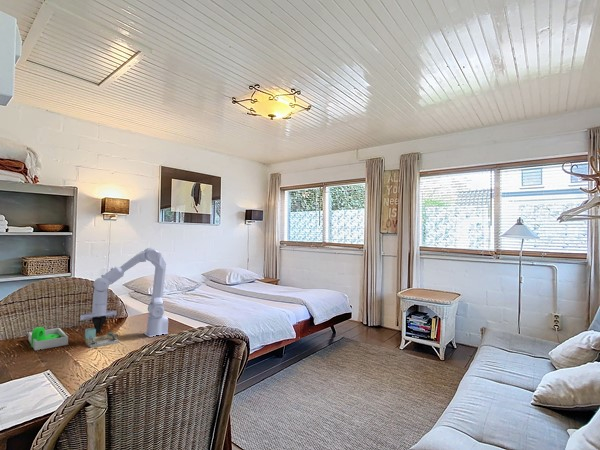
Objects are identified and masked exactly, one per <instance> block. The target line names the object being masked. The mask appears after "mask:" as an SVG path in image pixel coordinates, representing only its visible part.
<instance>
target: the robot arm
mask: <svg viewBox="0 0 600 450" xmlns="http://www.w3.org/2000/svg"><path fill="white" fill-rule="evenodd" d="M147 261H148V262H150V263H151V264H152V265H153V266H154V267H155V268H154V277H153V284H152V292H151V293H152V295H151V298H150V302H149V305H148V306H147V312H148V313H149V314H148V315H147V323H146V331H145V332H143V335H145V336H147V337H148V338H152V337H153V336H154V337H157V336H156V335H159V336H163V335H162V334H164V335H169V332H168V331H169V318H168V316H167V315H164V314H165V307H164V300H163V297H164V296H163V293H164V286H165V278H166V277H165V276H166V267H167V263H166V261H165V259H164V256H163V255H162V253H161V252H160V251H158V249H155V248H152V247H147V248H145V249H144V250H142V251H140V252H139V253H137V254H136V255H133V257H131V258H130V259H128V260H127V261H126V262H125V263H124V264H123V263H122V264H121V266H114V267H110V269H109V271H107V272H106V273H105V274H101V275H100V277H98V278H96V279H95V280H94V281H93V283H92V284H93V288H94V289H93V294H92V295H93V296H92V309H91V312H90V313H86V314H85V313H84V314H80V318H79V319H80V321H83V320H89V319H91V321H92V323H93V326H94V328H95V329H96V334H101V330H102V328H103V326H104V324H105V322H106V321H107V317H111V316H117V314H118V311H117V310H107V308H108V289H109V286H111V285H113V284H115V283H116V282H117V281H119V280H120V279H121V278H123V277H124V275H125V272H127V271H128V270H130V269H132V268H133V267H134V266H136V265H137V264H139V263H144V262H145V263H146V262H147ZM154 337H153V338H154Z"/></svg>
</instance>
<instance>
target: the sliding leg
mask: <svg viewBox="0 0 600 450" xmlns="http://www.w3.org/2000/svg"><path fill="white" fill-rule="evenodd" d="M96 334H97V333H96V329H95V327H90V328H85V331H84V339H92V343H94V338H95V337H97V335H96Z"/></svg>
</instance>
